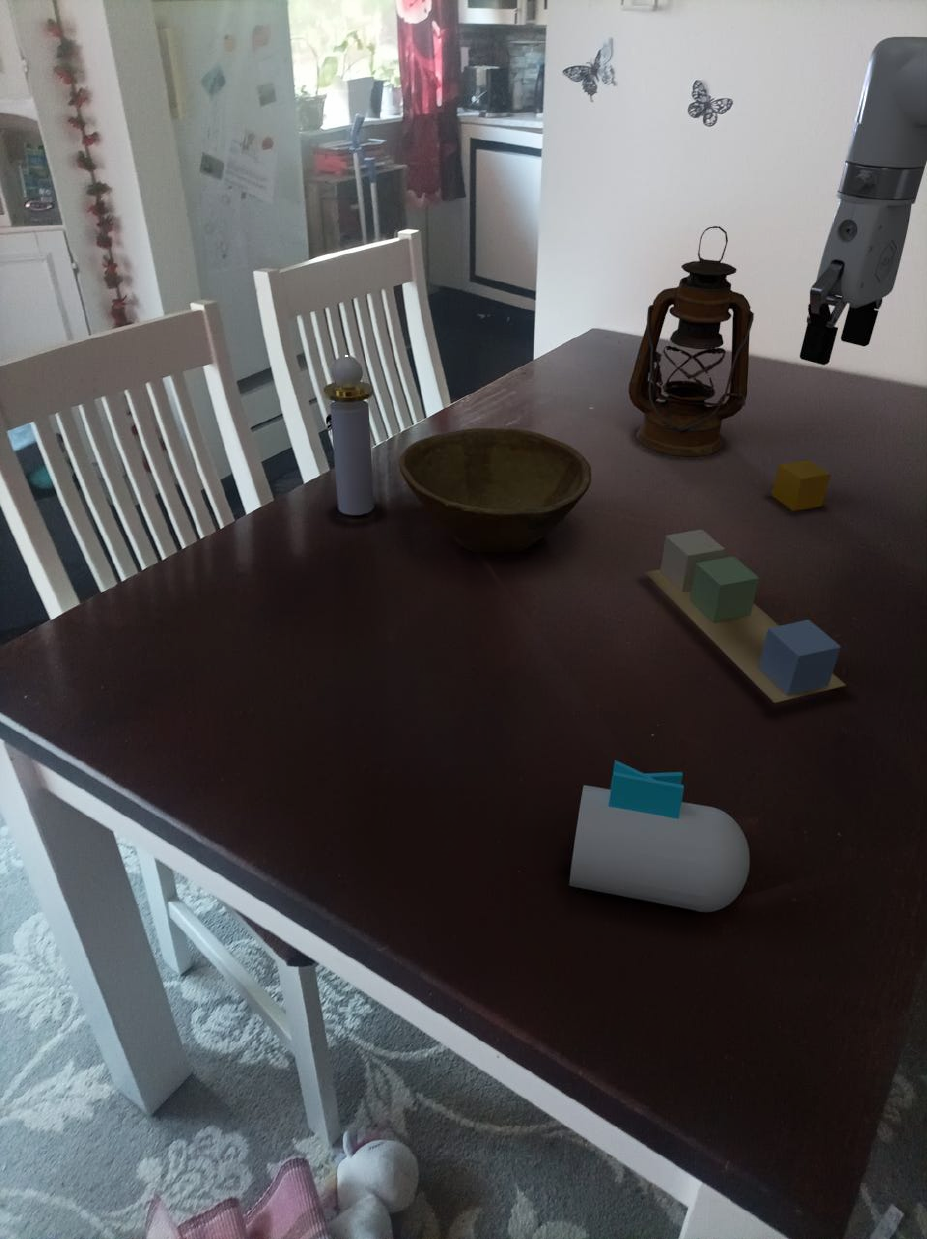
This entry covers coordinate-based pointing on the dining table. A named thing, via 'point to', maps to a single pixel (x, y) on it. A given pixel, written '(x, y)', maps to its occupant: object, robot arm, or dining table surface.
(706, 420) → the lantern
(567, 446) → the bowl
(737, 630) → the board
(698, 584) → the sage block
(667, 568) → the cream block
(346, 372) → the perfume bottle
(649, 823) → the grey rounded block
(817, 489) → the mustard block
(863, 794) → the dining table surface
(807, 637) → the blue block
